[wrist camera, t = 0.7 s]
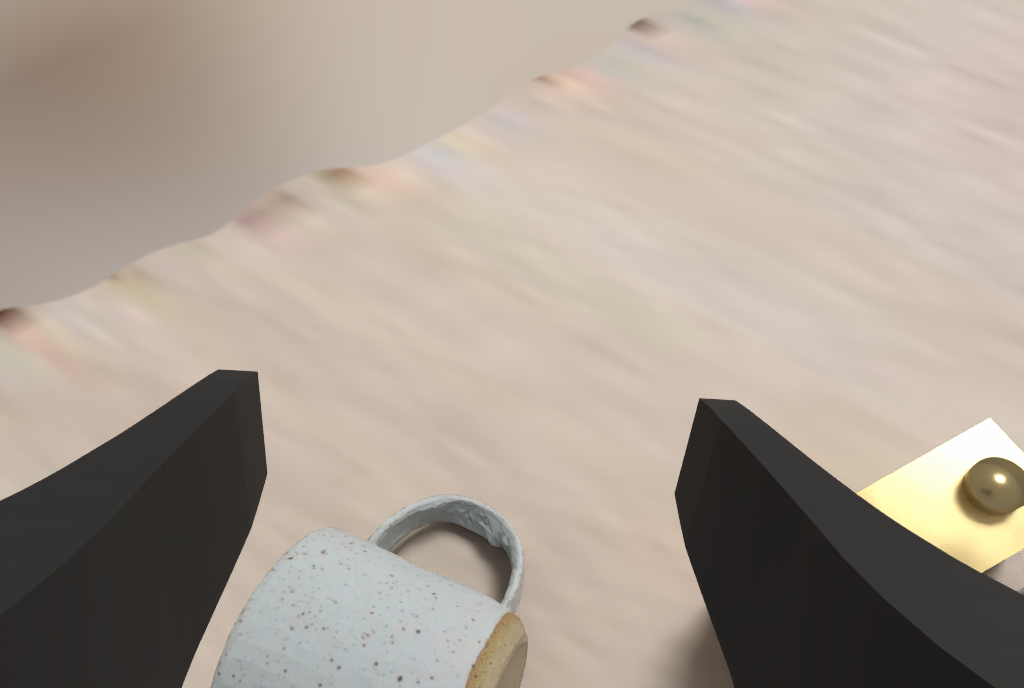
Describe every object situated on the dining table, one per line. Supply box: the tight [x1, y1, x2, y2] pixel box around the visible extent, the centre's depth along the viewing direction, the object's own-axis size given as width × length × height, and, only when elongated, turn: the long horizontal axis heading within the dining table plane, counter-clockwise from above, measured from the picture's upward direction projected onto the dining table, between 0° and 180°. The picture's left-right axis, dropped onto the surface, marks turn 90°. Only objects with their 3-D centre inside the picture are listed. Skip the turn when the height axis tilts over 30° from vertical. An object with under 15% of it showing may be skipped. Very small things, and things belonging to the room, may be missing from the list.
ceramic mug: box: [211, 495, 528, 688], centre depth 24 cm, size 11×8×8 cm
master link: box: [856, 418, 1024, 573], centre depth 23 cm, size 4×9×6 cm, turn 117°
